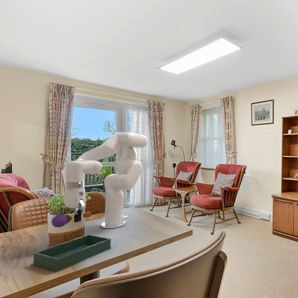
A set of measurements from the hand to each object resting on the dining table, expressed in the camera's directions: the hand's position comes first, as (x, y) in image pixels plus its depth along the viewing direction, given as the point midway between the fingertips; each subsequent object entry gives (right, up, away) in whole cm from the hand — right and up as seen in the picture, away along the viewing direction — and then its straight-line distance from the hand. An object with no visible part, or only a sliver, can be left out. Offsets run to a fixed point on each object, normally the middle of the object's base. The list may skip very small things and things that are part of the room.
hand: (73, 220), depth 115 cm
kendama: (0, -1, 0) cm, 1 cm away
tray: (+12, -11, -15) cm, 22 cm away
